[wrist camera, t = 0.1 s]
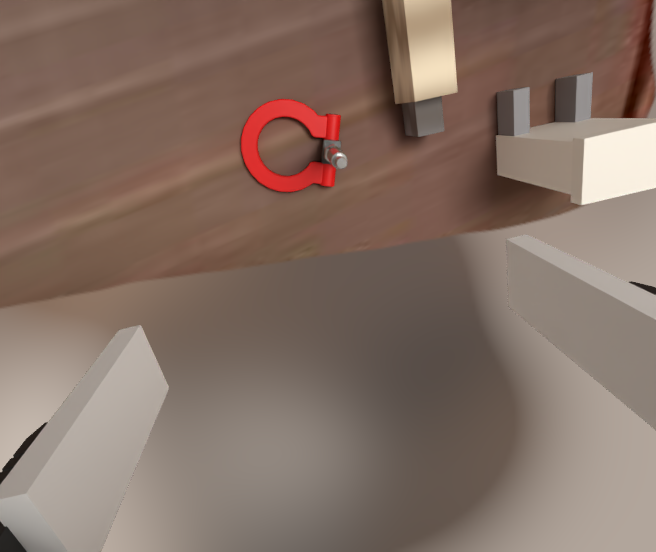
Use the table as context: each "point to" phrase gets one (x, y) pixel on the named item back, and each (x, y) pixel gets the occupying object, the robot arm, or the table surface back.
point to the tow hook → (317, 127)
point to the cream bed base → (575, 145)
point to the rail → (421, 60)
